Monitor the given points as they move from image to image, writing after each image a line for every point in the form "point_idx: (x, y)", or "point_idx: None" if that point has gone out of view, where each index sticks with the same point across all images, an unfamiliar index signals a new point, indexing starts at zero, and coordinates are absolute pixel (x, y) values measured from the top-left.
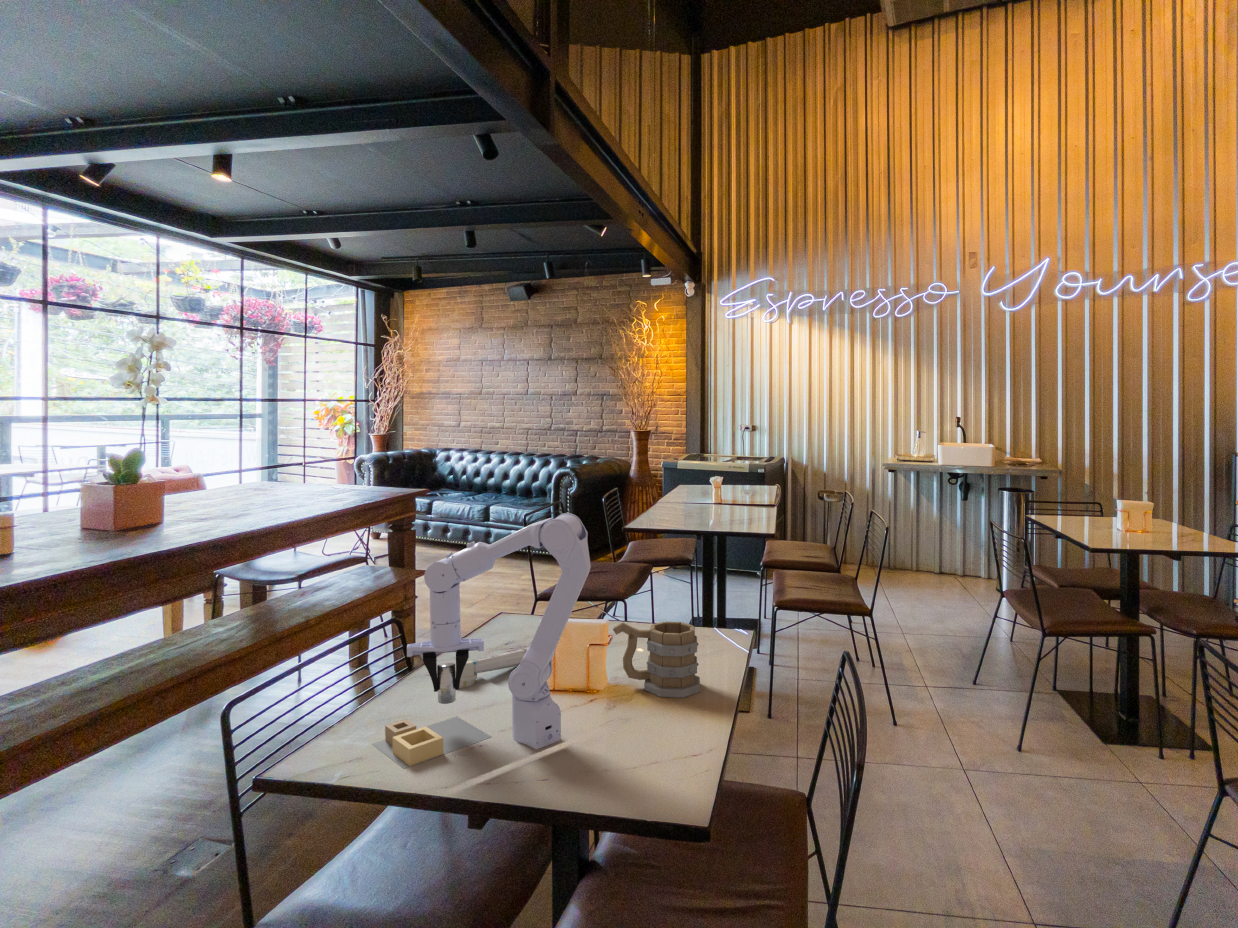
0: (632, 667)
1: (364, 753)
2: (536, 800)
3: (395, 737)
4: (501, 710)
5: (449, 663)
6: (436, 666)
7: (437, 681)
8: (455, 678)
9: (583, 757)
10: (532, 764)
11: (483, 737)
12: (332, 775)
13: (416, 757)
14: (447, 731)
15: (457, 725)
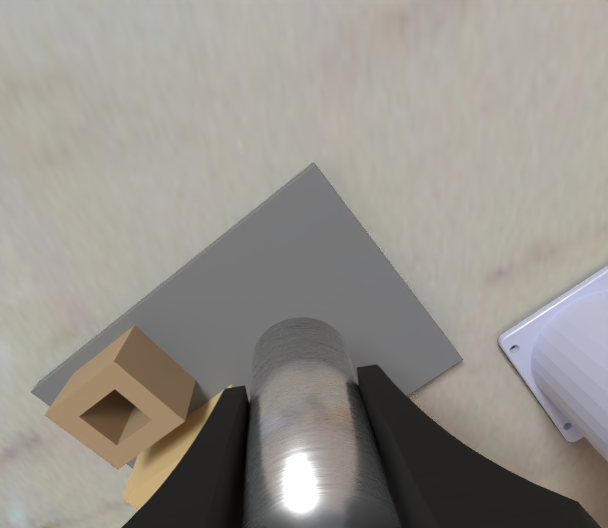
0: None
1: (31, 414)
2: None
3: (135, 500)
4: (517, 64)
5: (348, 517)
6: (223, 518)
7: (245, 441)
8: (367, 388)
9: None
10: (556, 478)
11: (433, 362)
12: (3, 521)
13: None
14: (296, 310)
15: (329, 260)
